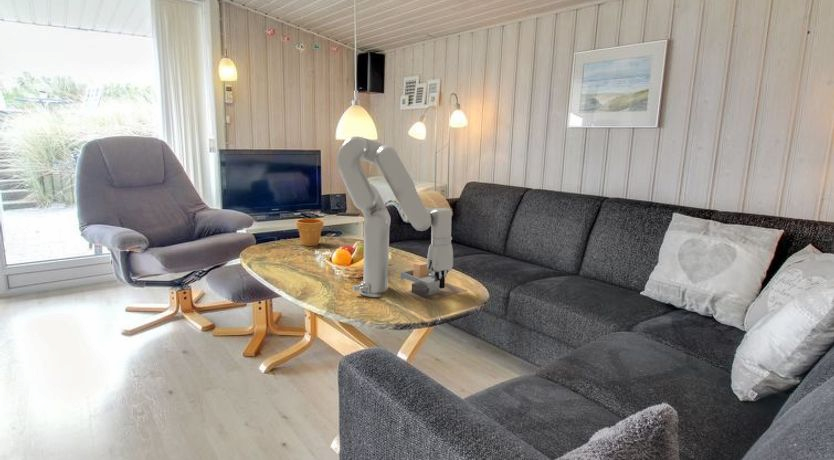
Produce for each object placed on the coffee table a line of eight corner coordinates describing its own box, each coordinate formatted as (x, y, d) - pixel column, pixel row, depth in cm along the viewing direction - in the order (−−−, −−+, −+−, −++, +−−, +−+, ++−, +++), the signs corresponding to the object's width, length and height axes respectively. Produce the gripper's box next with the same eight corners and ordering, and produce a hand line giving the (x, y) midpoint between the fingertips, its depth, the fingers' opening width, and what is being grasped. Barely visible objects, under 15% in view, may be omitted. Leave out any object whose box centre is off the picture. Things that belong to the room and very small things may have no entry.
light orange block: (419, 281, 200) (419, 265, 199) (413, 279, 203) (413, 263, 202) (428, 279, 204) (428, 263, 202) (422, 277, 207) (422, 261, 205)
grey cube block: (426, 296, 180) (427, 283, 179) (417, 291, 184) (418, 279, 183) (439, 293, 184) (439, 280, 183) (429, 289, 188) (430, 276, 187)
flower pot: (292, 246, 256) (291, 222, 254) (302, 240, 270) (302, 217, 268) (317, 248, 254) (317, 223, 252) (327, 242, 268) (327, 219, 265)
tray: (418, 287, 195) (418, 279, 195) (400, 279, 204) (400, 271, 204) (440, 282, 203) (441, 274, 202) (422, 275, 212) (422, 267, 211)
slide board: (421, 305, 175) (422, 292, 174) (401, 296, 184) (402, 283, 183) (467, 294, 189) (468, 282, 188) (446, 286, 198) (447, 274, 197)
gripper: (448, 236, 191) (447, 281, 195) (419, 242, 182) (419, 288, 185) (462, 240, 185) (460, 286, 189) (432, 245, 176) (432, 293, 180)
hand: (440, 287), depth 187 cm, fingers closed
